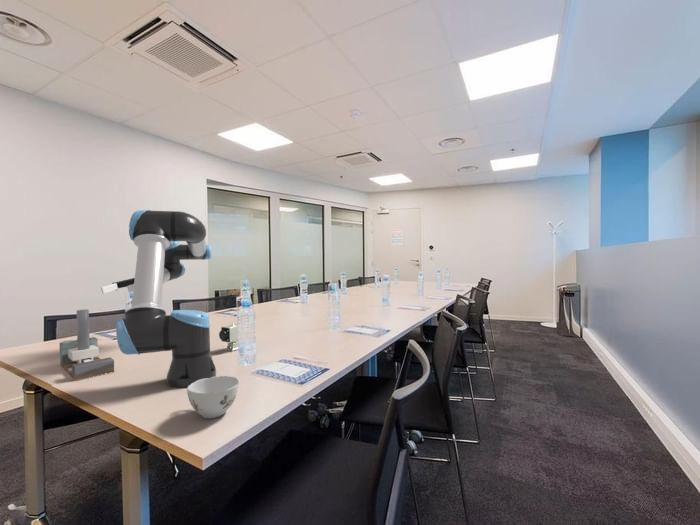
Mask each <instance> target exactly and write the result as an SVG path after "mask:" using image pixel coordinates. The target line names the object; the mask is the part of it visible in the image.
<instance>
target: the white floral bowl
mask: <svg viewBox="0 0 700 525" xmlns="http://www.w3.org/2000/svg"><path fill="white" fill-rule="evenodd" d="M239 384H240V380H239V379H238V377H235V376H228V375H220V376H218V375H216V377H211V378H209V379H208V378H205V379H201V380H198V381H196V382H194V383H192V384H191V385H189V386H188V387H187V388H186V391H187V397H188V400H189V401H188V402H189V403H190V406H191V407H192V408H193V410H194V411H195V412H196V413H198V414H199V415H200V416H201V417H202V418H204V419H215V418H219V417H221V416H222V415H225V414H226V412H227V411H228V409H229V408H230V407H231V406H232V405H233V403H234V401H235V399H236V397H237V393H238V391H239V390H238V389H239Z"/></svg>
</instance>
